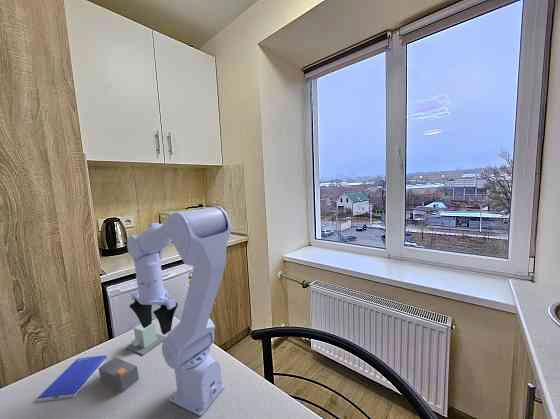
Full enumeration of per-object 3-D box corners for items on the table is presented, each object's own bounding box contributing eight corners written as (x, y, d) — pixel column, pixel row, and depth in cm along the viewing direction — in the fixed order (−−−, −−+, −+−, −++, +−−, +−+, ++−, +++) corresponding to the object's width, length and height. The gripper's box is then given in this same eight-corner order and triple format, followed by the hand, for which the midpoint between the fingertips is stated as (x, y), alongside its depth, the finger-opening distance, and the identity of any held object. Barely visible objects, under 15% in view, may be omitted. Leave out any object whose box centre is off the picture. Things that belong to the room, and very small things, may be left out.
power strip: (139, 378, 60) (137, 363, 60) (122, 392, 57) (120, 376, 56) (117, 368, 64) (115, 354, 64) (100, 380, 61) (98, 365, 60)
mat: (167, 338, 76) (167, 337, 76) (143, 355, 69) (143, 354, 69) (150, 332, 79) (150, 331, 79) (125, 348, 72) (125, 347, 72)
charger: (157, 339, 75) (154, 323, 74) (139, 352, 70) (136, 334, 69) (148, 336, 77) (146, 320, 76) (130, 348, 72) (127, 331, 71)
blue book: (76, 358, 68) (36, 397, 56) (107, 354, 69) (73, 392, 56) (77, 363, 68) (37, 403, 56) (107, 359, 69) (75, 398, 57)
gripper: (182, 276, 62) (188, 325, 64) (145, 270, 68) (152, 315, 70) (158, 288, 56) (166, 342, 57) (120, 280, 62) (128, 329, 64)
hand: (156, 328), depth 63 cm, fingers open, 7 cm apart
